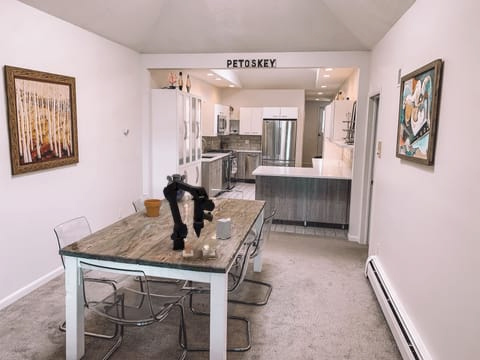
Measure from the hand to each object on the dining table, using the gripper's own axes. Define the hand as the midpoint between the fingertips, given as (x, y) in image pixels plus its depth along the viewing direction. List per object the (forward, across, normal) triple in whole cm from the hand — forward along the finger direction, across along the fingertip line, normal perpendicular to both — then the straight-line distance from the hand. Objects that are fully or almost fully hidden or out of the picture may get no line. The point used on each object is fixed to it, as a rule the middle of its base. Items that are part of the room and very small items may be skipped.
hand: (198, 235), depth 204 cm
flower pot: (+12, +95, +38) cm, 103 cm away
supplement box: (+12, +34, -17) cm, 40 cm away
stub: (+10, -1, +6) cm, 12 cm away
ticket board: (+12, -1, -2) cm, 12 cm away
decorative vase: (+11, +152, +22) cm, 154 cm away
